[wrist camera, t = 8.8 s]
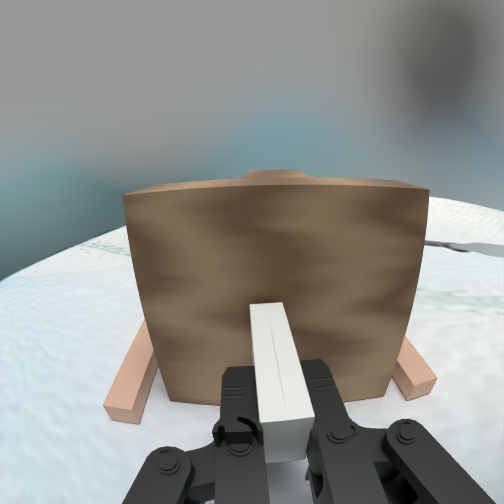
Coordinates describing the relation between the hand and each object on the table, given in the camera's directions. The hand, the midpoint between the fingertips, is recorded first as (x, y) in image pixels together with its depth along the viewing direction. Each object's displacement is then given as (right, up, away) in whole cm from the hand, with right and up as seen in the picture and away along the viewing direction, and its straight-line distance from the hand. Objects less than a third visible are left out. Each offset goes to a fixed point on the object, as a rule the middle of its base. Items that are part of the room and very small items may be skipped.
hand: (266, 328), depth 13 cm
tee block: (+1, -4, +9) cm, 10 cm away
